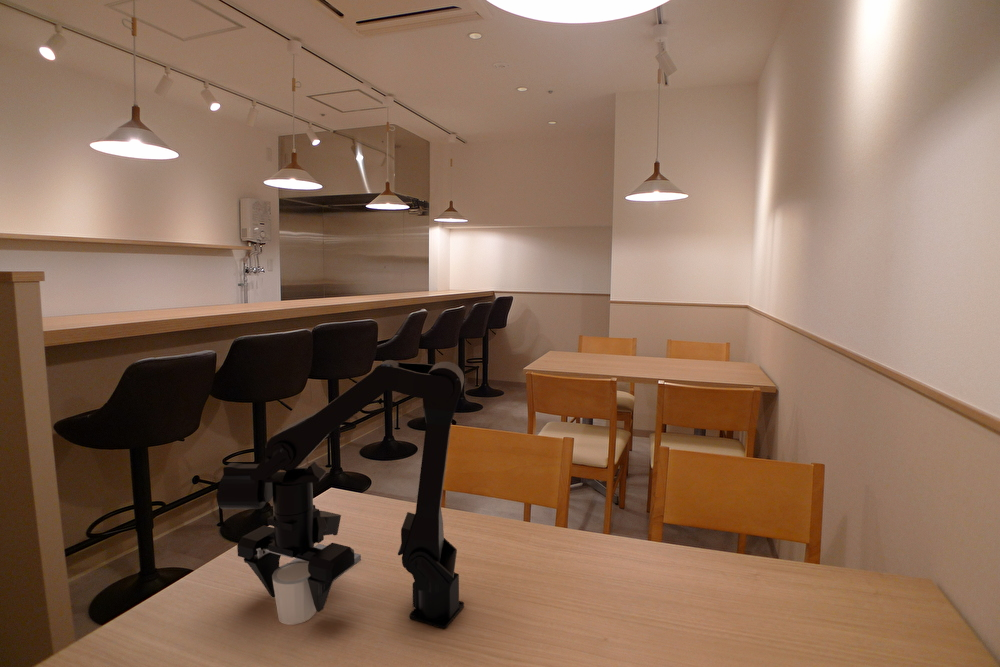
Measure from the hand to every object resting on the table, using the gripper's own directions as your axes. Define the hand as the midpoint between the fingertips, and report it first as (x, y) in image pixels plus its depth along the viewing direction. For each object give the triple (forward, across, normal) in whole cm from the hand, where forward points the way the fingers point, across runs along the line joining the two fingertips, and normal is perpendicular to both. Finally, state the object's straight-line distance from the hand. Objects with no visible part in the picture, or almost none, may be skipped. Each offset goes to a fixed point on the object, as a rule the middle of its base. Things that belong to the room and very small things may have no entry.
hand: (297, 603), depth 84 cm
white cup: (+2, 0, 0) cm, 2 cm away
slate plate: (+2, +6, -12) cm, 14 cm away
